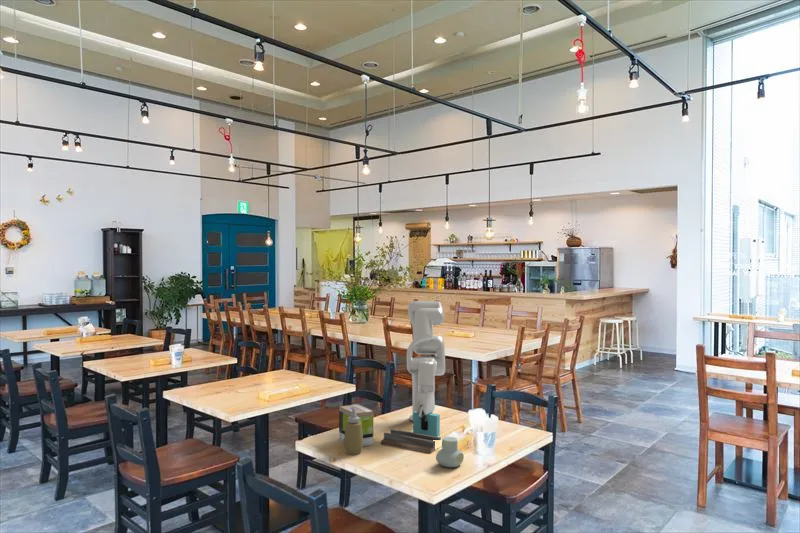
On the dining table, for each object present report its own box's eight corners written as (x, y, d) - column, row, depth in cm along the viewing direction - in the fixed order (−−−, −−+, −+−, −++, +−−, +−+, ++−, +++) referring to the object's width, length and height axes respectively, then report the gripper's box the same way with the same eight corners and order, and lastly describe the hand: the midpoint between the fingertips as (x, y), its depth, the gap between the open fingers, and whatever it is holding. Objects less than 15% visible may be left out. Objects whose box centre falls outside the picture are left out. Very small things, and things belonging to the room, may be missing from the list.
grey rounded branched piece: (452, 471, 196) (452, 444, 196) (433, 467, 201) (433, 440, 201) (465, 463, 205) (465, 437, 205) (447, 458, 210) (447, 433, 210)
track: (394, 436, 238) (394, 427, 238) (443, 445, 226) (443, 435, 226) (380, 443, 228) (380, 434, 228) (430, 453, 216) (430, 443, 216)
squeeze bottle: (341, 450, 219) (341, 407, 219) (359, 448, 222) (359, 405, 222) (347, 457, 211) (347, 412, 211) (366, 454, 214) (366, 410, 215)
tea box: (374, 444, 227) (374, 410, 227) (353, 448, 221) (353, 413, 221) (358, 435, 239) (358, 402, 240) (338, 439, 234) (338, 405, 234)
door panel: (416, 432, 244) (416, 410, 244) (439, 436, 238) (439, 414, 238) (413, 434, 241) (413, 412, 241) (436, 438, 235) (436, 416, 235)
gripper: (427, 383, 248) (426, 422, 248) (410, 390, 234) (410, 432, 234) (441, 385, 245) (441, 425, 245) (425, 392, 231) (425, 434, 230)
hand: (426, 428), depth 239 cm, fingers closed on door panel, 3 cm apart
